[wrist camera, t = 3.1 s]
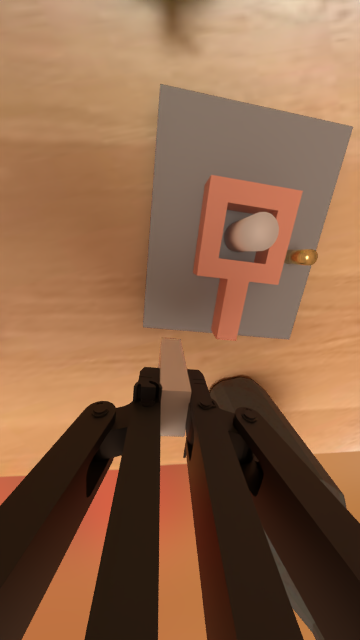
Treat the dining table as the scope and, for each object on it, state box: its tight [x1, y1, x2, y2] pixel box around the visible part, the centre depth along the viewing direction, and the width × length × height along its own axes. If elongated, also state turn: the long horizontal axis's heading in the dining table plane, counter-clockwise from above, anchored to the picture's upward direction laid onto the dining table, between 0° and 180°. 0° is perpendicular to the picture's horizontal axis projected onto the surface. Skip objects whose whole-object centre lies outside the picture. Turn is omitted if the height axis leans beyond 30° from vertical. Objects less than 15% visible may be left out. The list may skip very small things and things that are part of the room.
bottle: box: [210, 377, 346, 640], centre depth 19 cm, size 10×10×30 cm
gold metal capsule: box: [284, 249, 318, 266], centre depth 23 cm, size 2×2×4 cm
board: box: [143, 84, 353, 339], centre depth 22 cm, size 24×20×8 cm
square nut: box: [193, 175, 303, 341], centre depth 23 cm, size 16×9×3 cm, turn 173°
